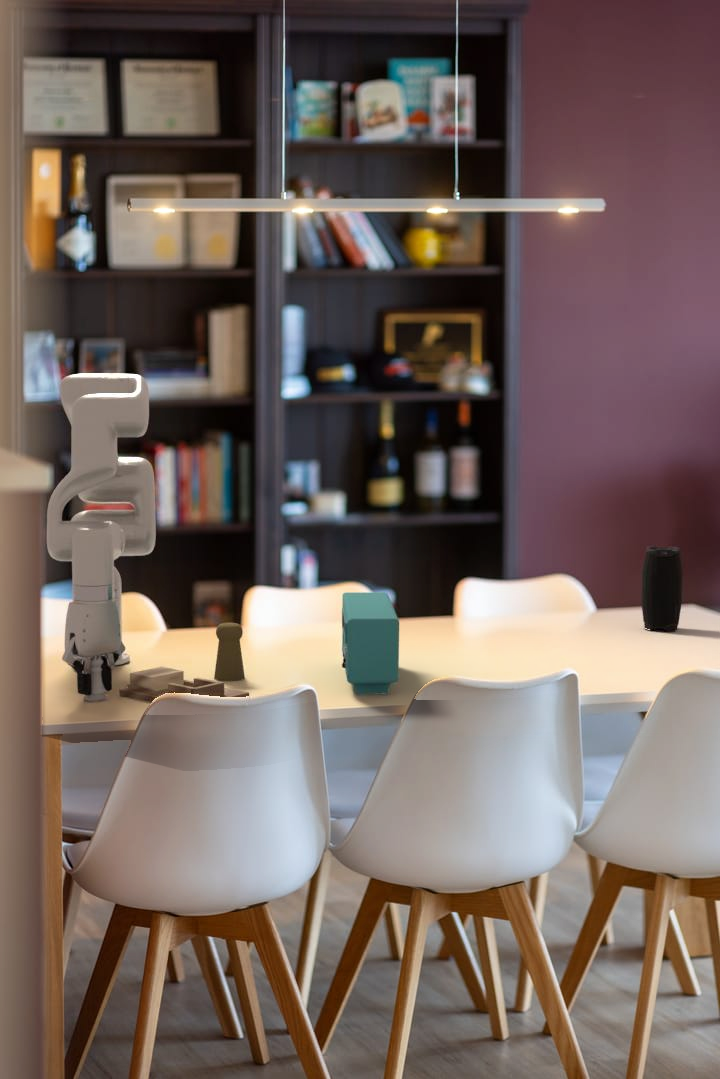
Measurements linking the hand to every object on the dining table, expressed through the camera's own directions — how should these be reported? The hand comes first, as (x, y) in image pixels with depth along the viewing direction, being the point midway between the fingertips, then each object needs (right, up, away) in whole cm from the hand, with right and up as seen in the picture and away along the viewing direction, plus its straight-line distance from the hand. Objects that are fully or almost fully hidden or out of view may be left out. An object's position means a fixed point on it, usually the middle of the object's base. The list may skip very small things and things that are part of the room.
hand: (94, 691), depth 273 cm
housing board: (+16, -1, +2) cm, 16 cm away
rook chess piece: (0, -2, 0) cm, 2 cm away
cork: (+23, 0, +20) cm, 30 cm away
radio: (+50, 0, +20) cm, 54 cm away
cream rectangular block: (+11, 0, +5) cm, 12 cm away
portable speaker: (+120, +6, +79) cm, 144 cm away
